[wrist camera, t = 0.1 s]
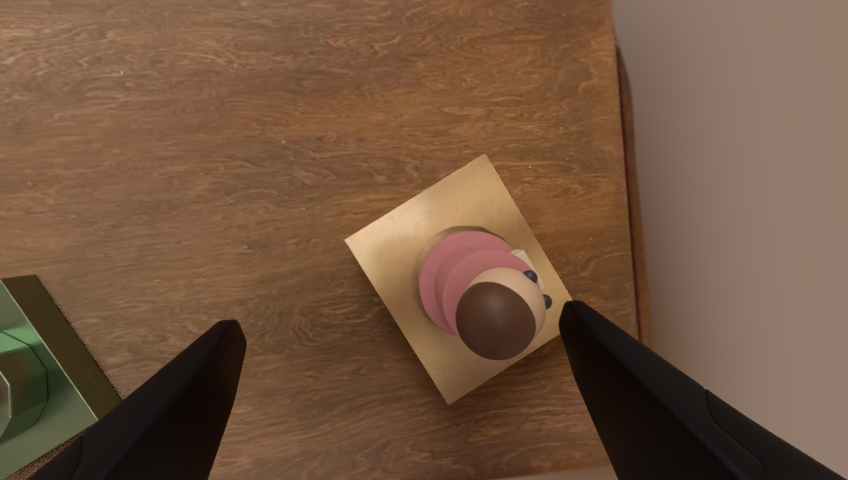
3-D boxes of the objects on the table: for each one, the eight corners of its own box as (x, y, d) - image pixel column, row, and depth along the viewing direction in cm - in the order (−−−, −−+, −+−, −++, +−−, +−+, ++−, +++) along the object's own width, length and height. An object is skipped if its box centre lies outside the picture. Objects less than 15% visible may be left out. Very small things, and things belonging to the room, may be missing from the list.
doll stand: (565, 309, 25) (584, 318, 22) (443, 387, 24) (448, 405, 22) (476, 161, 24) (485, 153, 22) (350, 238, 24) (343, 239, 21)
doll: (451, 348, 22) (490, 443, 12) (398, 265, 21) (395, 293, 12) (534, 295, 22) (637, 347, 12) (483, 212, 21) (549, 198, 12)
